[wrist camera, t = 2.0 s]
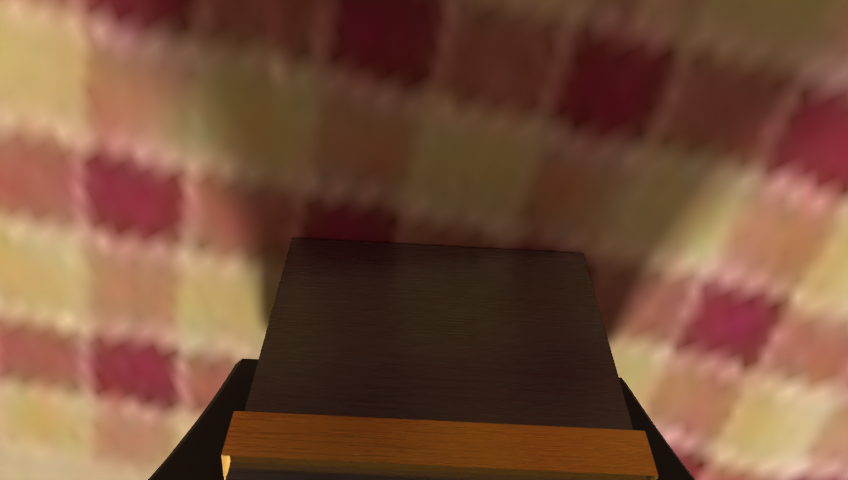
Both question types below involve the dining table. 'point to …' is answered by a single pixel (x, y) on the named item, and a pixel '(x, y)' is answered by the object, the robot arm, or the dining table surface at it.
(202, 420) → the robot arm
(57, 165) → the dining table surface
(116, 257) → the dining table surface
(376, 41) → the dining table surface
